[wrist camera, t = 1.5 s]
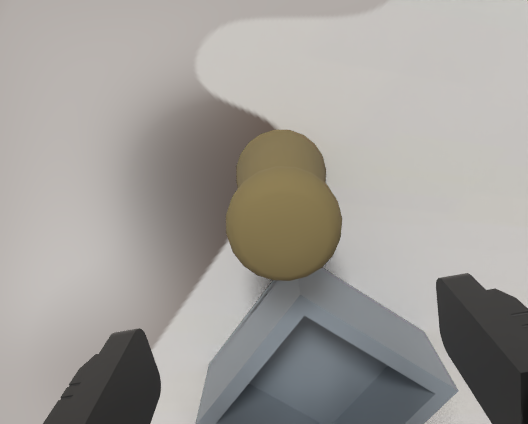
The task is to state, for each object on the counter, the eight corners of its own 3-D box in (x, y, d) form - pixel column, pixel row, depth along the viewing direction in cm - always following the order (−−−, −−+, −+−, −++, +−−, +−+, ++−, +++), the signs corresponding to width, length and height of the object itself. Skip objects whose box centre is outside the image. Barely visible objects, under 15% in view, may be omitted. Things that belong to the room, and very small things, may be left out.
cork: (344, 176, 27) (388, 241, 16) (278, 233, 28) (280, 327, 18) (283, 109, 25) (288, 133, 15) (217, 173, 27) (180, 235, 16)
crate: (295, 250, 29) (300, 294, 23) (424, 331, 30) (458, 390, 25) (209, 364, 32) (194, 426, 26) (330, 430, 34) (340, 502, 28)
